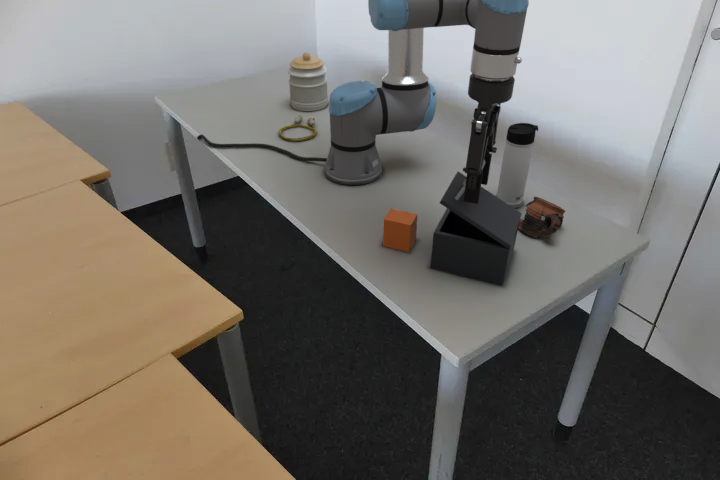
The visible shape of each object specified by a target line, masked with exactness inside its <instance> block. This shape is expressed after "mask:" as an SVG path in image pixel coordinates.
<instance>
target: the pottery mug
mask: <svg viewBox="0 0 720 480" xmlns="http://www.w3.org/2000/svg"><path fill="white" fill-rule="evenodd" d="M524 206H525V211H526V212H525V214H524V217H523V218H520V221H519V226H518V230H520V231H521V232H523V233H524V234H526V235H528V236H529V237H532V238H534V239H538V236H539V235H540V234H541V235H542V236H543V237H550V236H551V235H554V234H555V233H557V232H558V230H559V229H560V228H561V227H562V226H563V222H564V218H565V216H564V214H565V213H566V210H565V209H564V208H562V207H560V206H559V205H557V204H555V203H552V202H550V201H547V200H546V199H544V198H542V197H538V196H534V197H533V200H531V201H530V202H527V203H526V204H525V205H524ZM543 217H544V219H542V218H543Z"/></svg>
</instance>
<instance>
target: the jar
mask: <svg viewBox="0 0 720 480" xmlns="http://www.w3.org/2000/svg"><path fill="white" fill-rule="evenodd" d="M324 65H325V61H324V60H322V59H320V57H317V56H314V55H311V54H310V52H307V51H305V52H303V53H302V55H301V56H297V57H294V59H293V60H291V61H290V62H289V66H290V67H289V68H288V69H287V74H288V75H289V79H288V85H289V86H288V87H289V103H290V106H291V108H293V109H294V110H296V111H301V112H314V111H319V110H323V109H324V108H326V107H327V106H328V105H329V103H328V102H329V96H328V78H327V75H326V74H327V72H328V69H327V67H326V66H324Z"/></svg>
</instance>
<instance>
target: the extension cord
mask: <svg viewBox="0 0 720 480" xmlns="http://www.w3.org/2000/svg"><path fill="white" fill-rule="evenodd" d="M302 120H303V116H302V115H298V116H297V117H295V119H294V122H293V123H292V124H290V125H286V126H283V127H281V128H280V130H279V131H278V136H279V137H280V138H281V139H282V140H285V141H288V142H304V141H308V140H311V139H313V138H315V136H316V135H317V133H318V132H317V130H316V127H315V124H316V121H315V120H316V119H315V118H314V117H309V118H307V123H308V124H309V126H308V125H304V124H300V123H302ZM292 128H293V129H294V128H304V129H308V130H311V131H313V133H312V134H310V135H306V136H303V137H293V138H292V137H287V136H284V135H282V132H283V131H284V130H288V129H292Z"/></svg>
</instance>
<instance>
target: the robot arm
mask: <svg viewBox="0 0 720 480" xmlns="http://www.w3.org/2000/svg"><path fill="white" fill-rule="evenodd" d="M367 2H368V4H367V6H368V7H367V8H368V14H369V18H370V22H371V25H372V26H373V28H375V30H377V31H387V72H386V74H385V75H383V76H382V78H381V86H380V87H377V86H376V84H375V83H374V82H371V81H368V80H364V81H362V80H353V81H349V82H345V83H343V84H339V85H338V86H337V87H335V88H334V89H333V90H332V91H331V93H330V94H329V103H328V105H329V106H328V112H329V129H330V130H329V131H330V146H329V150H328V154H327V157H316V156H315V157H313V156H312V157H311V156H310V157H308V156H307V157H306V156H300V155H297V154H295V153H294V152H291V151H289V150H286V149H283V148H281V147H278V146H275V145H273V144H272V145H271V144H266V143H257V142H256V143H215V142H211V141H210V140H209V139H208V138H207V137H206V136H205V135H204V134H199V135H198V136H197V137H196V139H197V140H201V139H202V140H203V142H204V143H206V144H207V145H208V146H211V147H214V148H264V149H270V150H274V151H277V152H279V153H282V154H284V155H286V156H289V157H291V158H293V159H295V160H298V161H302V162H323V163H324V162H325V165H324V174H325V176H326V177H327V179H328V180H330V181H332V182H334V183H337V184H339V185H346V186H362V185H367V184H369V183H372V182H374V181H377V180H378V179H379V178H380V177H381V176H382V174H383V164H382V161H381V157H380V154H379V151H378V149H377V146H376V145H377V144H376V136H379V135H387V134H395V133H396V134H397V133H407V132H409V133H411V132H416V131H420V130H424V129H426V128H428V127H429V126H430V124H432V122H433V120H434V117H435V114H436V110H437V96H436V93H437V92H436V89H435V86H434V85H433V84H432V83H431V82H429V76H427V74H426V73H425V72H424V70H423V69H424V68H423V66H424V65H423V64H424V63H423V62H424V35H425V34H424V33H425V29H426V28H441V27H455V26H456V27H457V26H469V27H471V28H472V29H474V39H473V46H472V53H471V61H470V62H471V63H470V68H469V70H470V73H471V74H470V75H469V80H468V87H467V95H468V97H469V98H470V99H471V100H472V101H475V102H477V103H478V104H477V107H476V108H474V111H473V119H472V121H471V122H470V126H471V128H470V136H469V142H468V148H467V149H468V150H467V156H466V163H465V167H462V172H464V174H466V185H465V193H464V200H463V201H465V202H470V203H475V204H478V202H479V195H480V188H481V187H482V185H483V186H487V185H488V182H489V176H490V169H491V164H492V163H491V162H492V158H493V157H492V156H493V154H496V153H497V150H498V147H495V145H496V140H497V132H498V124H499V118H500V113H501V111H502V110H501V109H502V106H501V105H502V104H505V103H507V102H509V101H510V100H511V99H512V98H513V92H514V86H515V81H516V79H515V77H514V76H515V75H516V72H517V67H518V64H521V63H522V61H523V59H522V57H520V56H519V54H520V49H521V46H522V40H523V34H524V28H525V23H526V16H527V11H528V8H529V5H530V2H529V0H368V1H367ZM518 56H519V57H518ZM484 160H485V165H484V167H483V162H484ZM482 167H483V169H482Z"/></svg>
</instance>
